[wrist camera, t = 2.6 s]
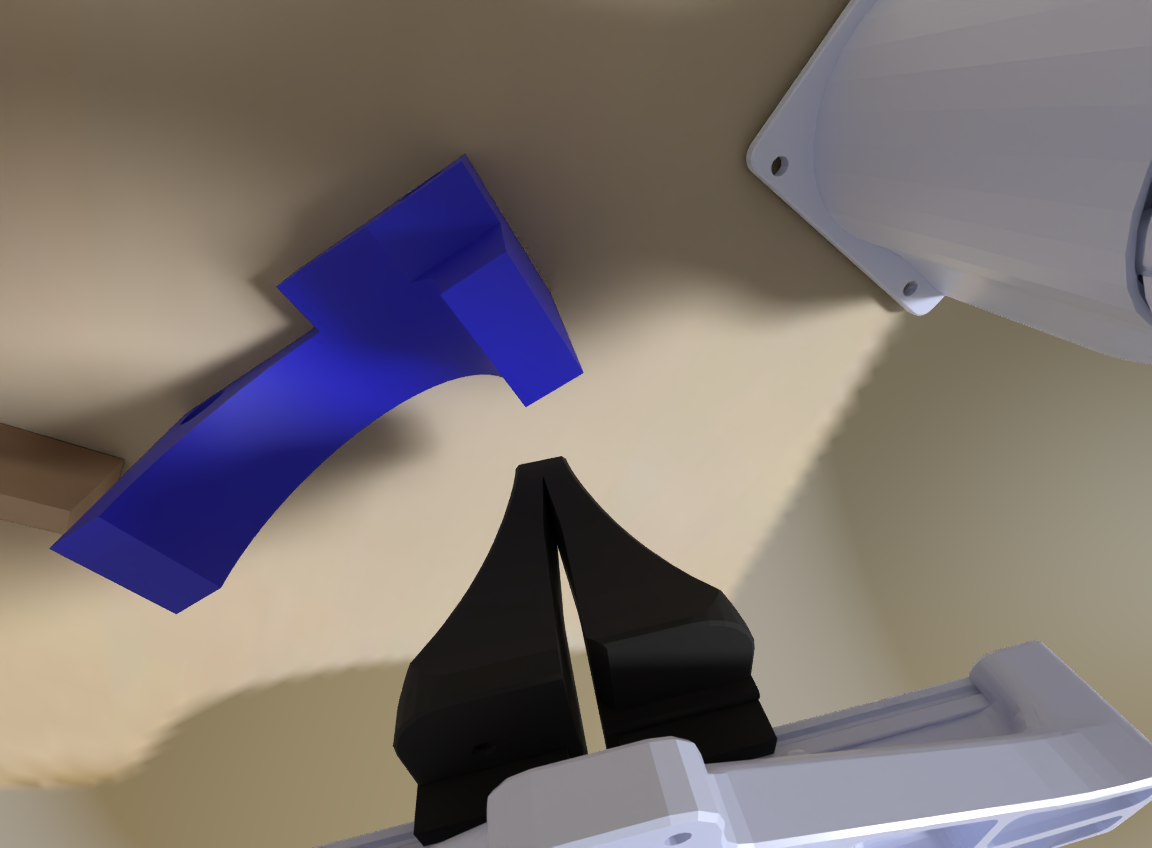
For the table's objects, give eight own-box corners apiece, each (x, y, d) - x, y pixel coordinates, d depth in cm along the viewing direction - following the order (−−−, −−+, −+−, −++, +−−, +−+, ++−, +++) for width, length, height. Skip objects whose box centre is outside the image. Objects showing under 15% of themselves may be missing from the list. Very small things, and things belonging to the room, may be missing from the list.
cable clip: (465, 153, 13) (456, 172, 8) (550, 291, 15) (583, 372, 10) (143, 376, 15) (-30, 507, 10) (264, 470, 17) (176, 614, 12)
